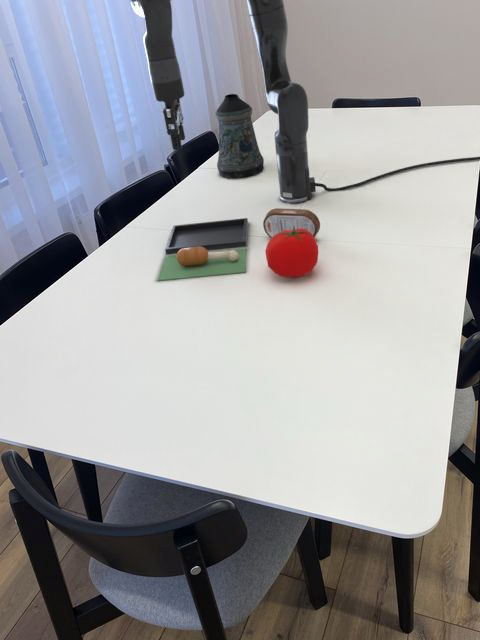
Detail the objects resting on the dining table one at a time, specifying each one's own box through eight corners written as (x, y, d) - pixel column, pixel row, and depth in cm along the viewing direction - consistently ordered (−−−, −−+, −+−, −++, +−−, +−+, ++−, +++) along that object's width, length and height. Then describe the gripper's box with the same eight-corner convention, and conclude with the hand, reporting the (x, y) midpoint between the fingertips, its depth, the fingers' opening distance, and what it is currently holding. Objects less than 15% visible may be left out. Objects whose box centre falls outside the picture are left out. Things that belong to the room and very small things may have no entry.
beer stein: (238, 182, 194) (227, 104, 180) (204, 172, 207) (191, 99, 193) (274, 168, 202) (266, 92, 188) (239, 159, 215) (229, 87, 201)
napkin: (247, 249, 151) (247, 248, 151) (245, 272, 141) (245, 271, 141) (165, 257, 153) (164, 256, 153) (157, 281, 142) (157, 280, 142)
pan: (248, 223, 165) (247, 217, 164) (246, 247, 152) (245, 241, 151) (174, 231, 167) (173, 225, 166) (166, 255, 154) (165, 249, 153)
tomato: (304, 289, 131) (300, 246, 125) (258, 280, 137) (253, 239, 131) (330, 263, 140) (328, 222, 134) (286, 256, 146) (282, 216, 140)
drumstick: (239, 256, 148) (237, 239, 145) (238, 264, 144) (236, 247, 142) (179, 262, 149) (176, 245, 147) (177, 270, 145) (173, 253, 143)
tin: (321, 238, 152) (319, 208, 147) (318, 243, 149) (316, 213, 145) (267, 236, 157) (264, 206, 152) (263, 241, 154) (260, 211, 149)
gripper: (177, 81, 136) (191, 151, 145) (183, 70, 147) (195, 135, 157) (146, 86, 136) (162, 154, 145) (155, 74, 148) (168, 138, 157)
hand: (179, 144), depth 151 cm, fingers open, 8 cm apart
